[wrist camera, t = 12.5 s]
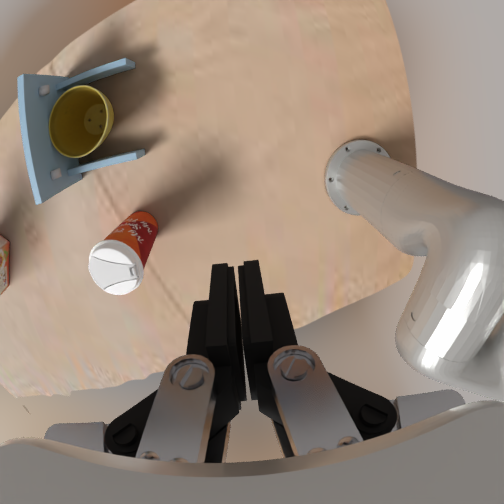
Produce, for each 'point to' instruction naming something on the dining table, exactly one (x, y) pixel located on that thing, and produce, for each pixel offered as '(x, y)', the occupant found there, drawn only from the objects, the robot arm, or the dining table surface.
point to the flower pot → (80, 121)
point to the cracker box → (4, 264)
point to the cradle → (37, 130)
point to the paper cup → (123, 254)
